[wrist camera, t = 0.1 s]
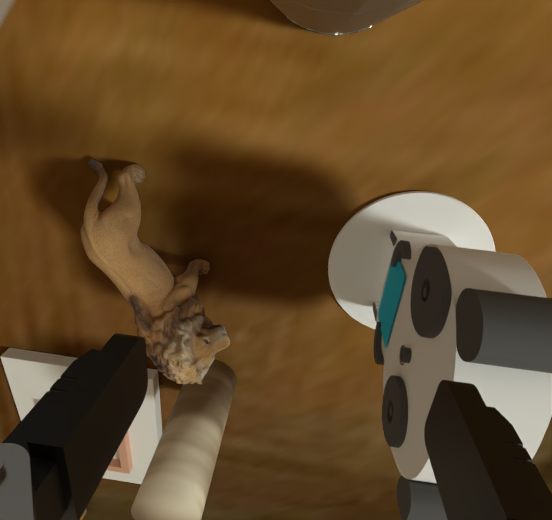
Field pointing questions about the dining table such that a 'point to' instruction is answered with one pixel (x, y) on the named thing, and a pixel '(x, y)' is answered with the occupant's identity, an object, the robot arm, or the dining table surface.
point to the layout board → (48, 369)
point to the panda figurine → (443, 324)
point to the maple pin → (187, 450)
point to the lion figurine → (151, 283)
